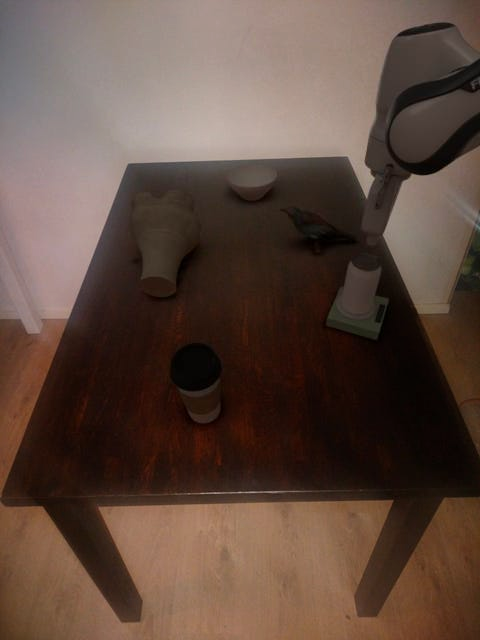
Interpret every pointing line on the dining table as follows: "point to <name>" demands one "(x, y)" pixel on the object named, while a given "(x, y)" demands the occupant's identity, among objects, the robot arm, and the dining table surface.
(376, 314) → the scale
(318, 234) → the bird figurine
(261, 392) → the dining table surface
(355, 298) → the can
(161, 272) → the vase
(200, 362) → the coffee cup
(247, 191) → the bowl
